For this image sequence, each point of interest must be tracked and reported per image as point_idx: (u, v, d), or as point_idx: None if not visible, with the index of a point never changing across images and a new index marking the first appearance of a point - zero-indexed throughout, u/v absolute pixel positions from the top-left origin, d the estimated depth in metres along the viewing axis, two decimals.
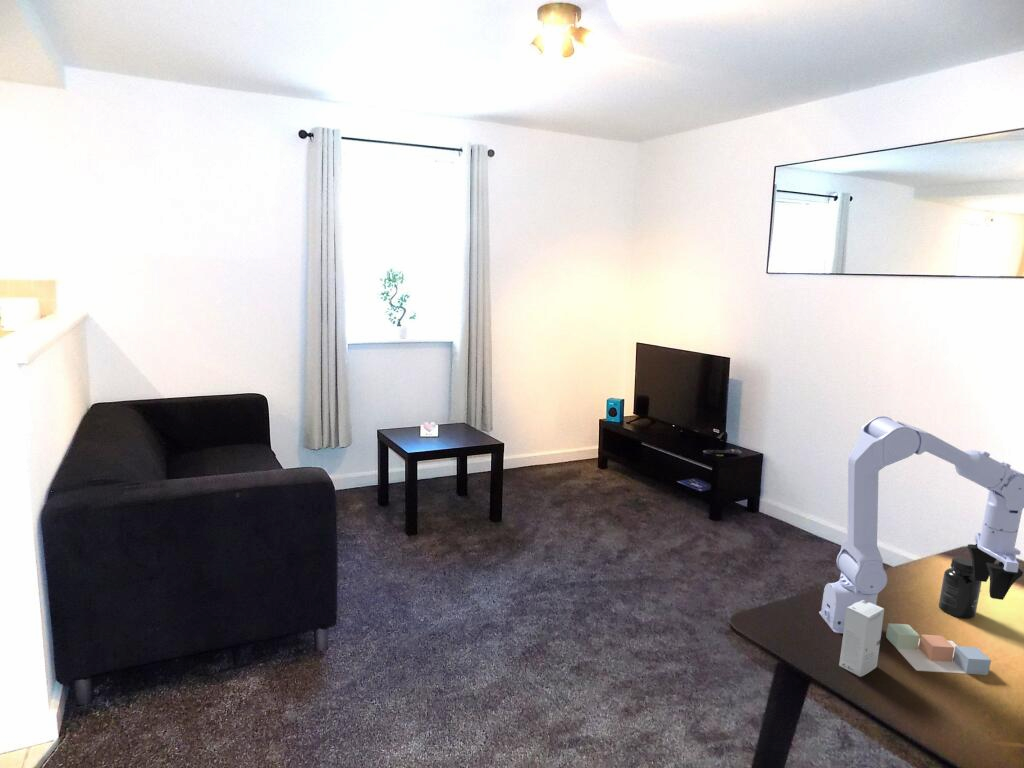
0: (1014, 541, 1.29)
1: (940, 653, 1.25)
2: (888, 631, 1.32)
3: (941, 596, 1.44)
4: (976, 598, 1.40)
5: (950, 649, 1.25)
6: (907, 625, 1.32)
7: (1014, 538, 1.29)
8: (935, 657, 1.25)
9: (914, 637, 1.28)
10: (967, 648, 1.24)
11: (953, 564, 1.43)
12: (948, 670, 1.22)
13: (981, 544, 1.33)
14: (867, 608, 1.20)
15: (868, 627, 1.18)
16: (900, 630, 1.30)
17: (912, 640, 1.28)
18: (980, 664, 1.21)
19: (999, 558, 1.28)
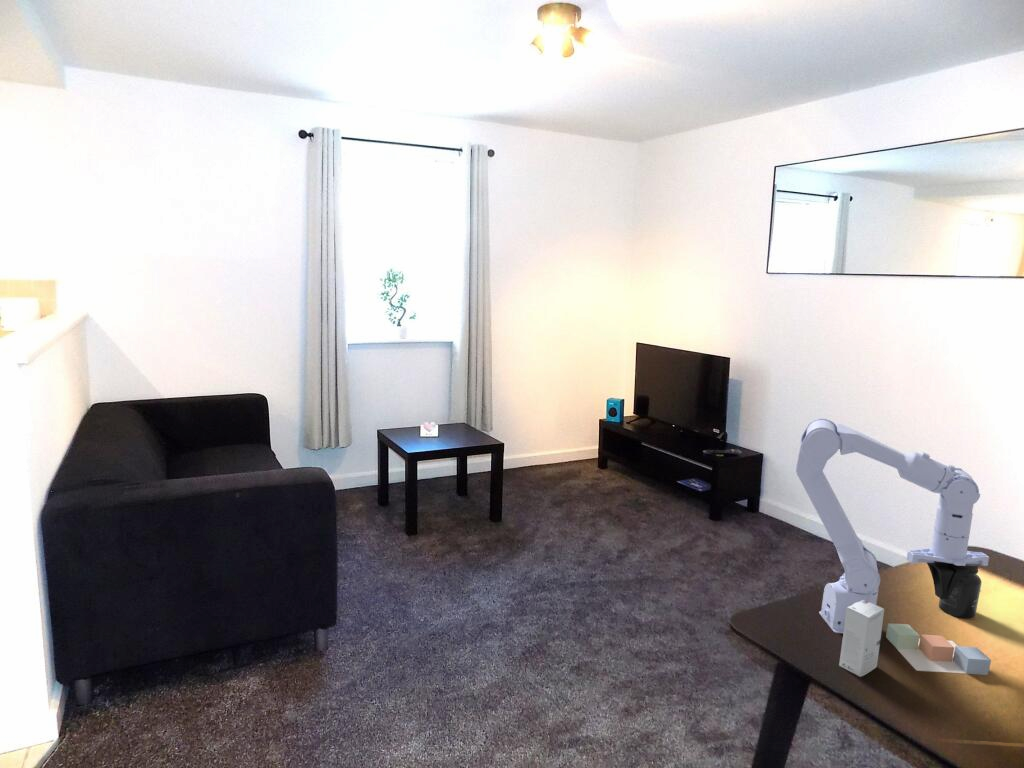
0: (945, 545, 1.26)
1: (940, 653, 1.25)
2: (888, 631, 1.32)
3: None
4: (976, 598, 1.40)
5: (950, 649, 1.25)
6: (907, 625, 1.32)
7: (944, 542, 1.26)
8: (935, 657, 1.25)
9: (914, 637, 1.28)
10: (967, 648, 1.24)
11: None
12: (948, 670, 1.22)
13: None
14: (867, 608, 1.20)
15: (868, 627, 1.18)
16: (900, 630, 1.30)
17: (912, 640, 1.28)
18: (980, 664, 1.21)
19: None
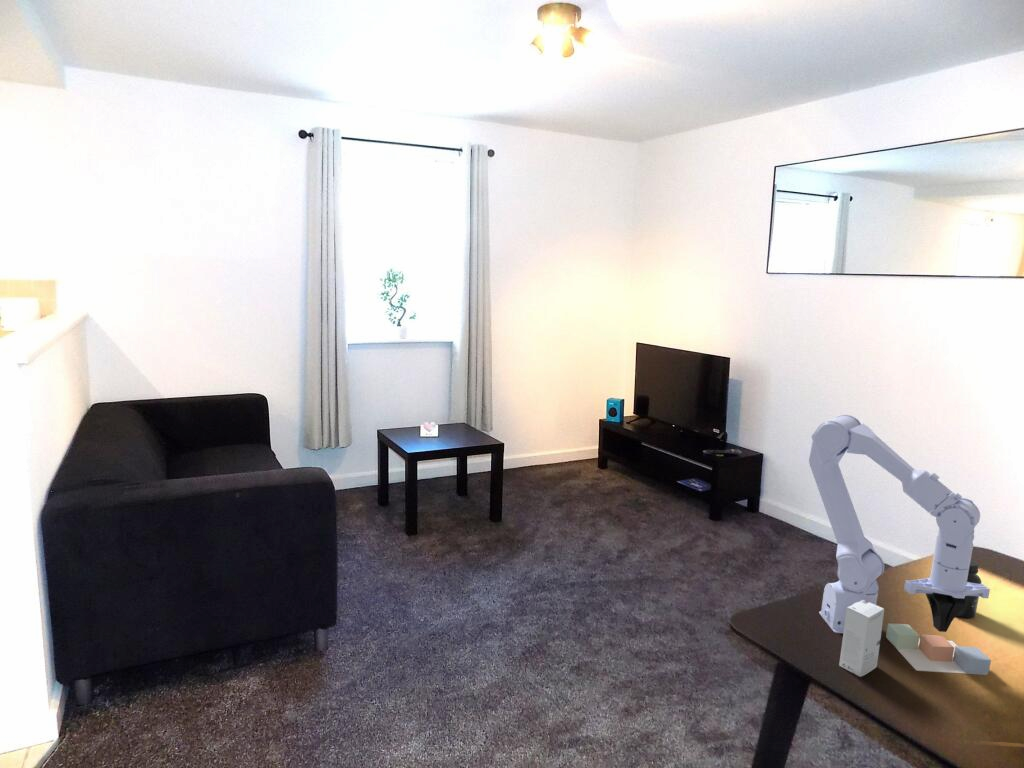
0: (944, 577, 1.22)
1: (940, 653, 1.25)
2: (888, 631, 1.32)
3: None
4: (976, 598, 1.40)
5: (950, 649, 1.25)
6: (907, 625, 1.32)
7: (943, 573, 1.22)
8: (935, 657, 1.25)
9: (914, 637, 1.28)
10: (967, 648, 1.24)
11: None
12: (948, 670, 1.22)
13: None
14: (867, 608, 1.20)
15: (868, 627, 1.18)
16: (900, 630, 1.30)
17: (912, 640, 1.28)
18: (980, 664, 1.21)
19: None
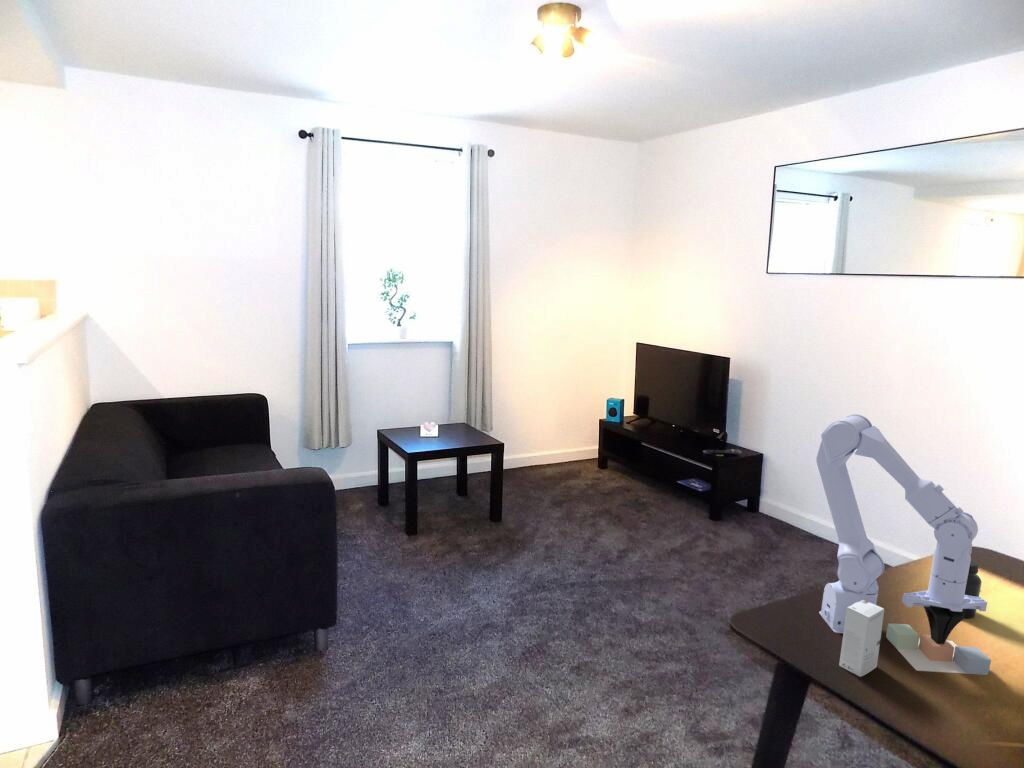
0: (942, 590, 1.23)
1: (940, 653, 1.25)
2: (888, 631, 1.32)
3: None
4: None
5: (950, 649, 1.25)
6: (907, 625, 1.32)
7: (941, 586, 1.23)
8: (935, 657, 1.25)
9: (914, 637, 1.28)
10: (967, 648, 1.24)
11: None
12: (948, 670, 1.22)
13: None
14: (867, 608, 1.20)
15: (868, 627, 1.18)
16: (900, 630, 1.30)
17: (912, 640, 1.28)
18: (980, 664, 1.21)
19: None
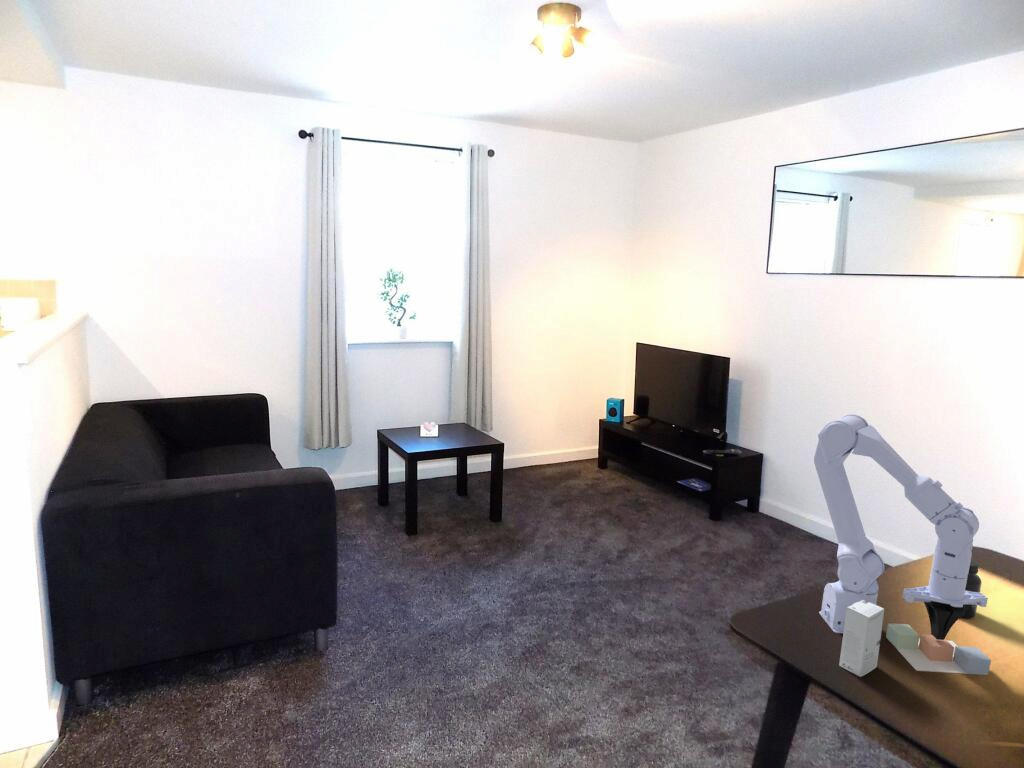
0: (942, 585, 1.22)
1: (940, 653, 1.25)
2: (888, 631, 1.32)
3: None
4: None
5: (950, 649, 1.25)
6: (907, 625, 1.32)
7: (941, 581, 1.22)
8: (935, 657, 1.25)
9: (914, 637, 1.28)
10: (967, 648, 1.24)
11: None
12: (948, 670, 1.22)
13: None
14: (867, 608, 1.20)
15: (868, 627, 1.18)
16: (900, 630, 1.30)
17: (912, 640, 1.28)
18: (980, 664, 1.21)
19: None
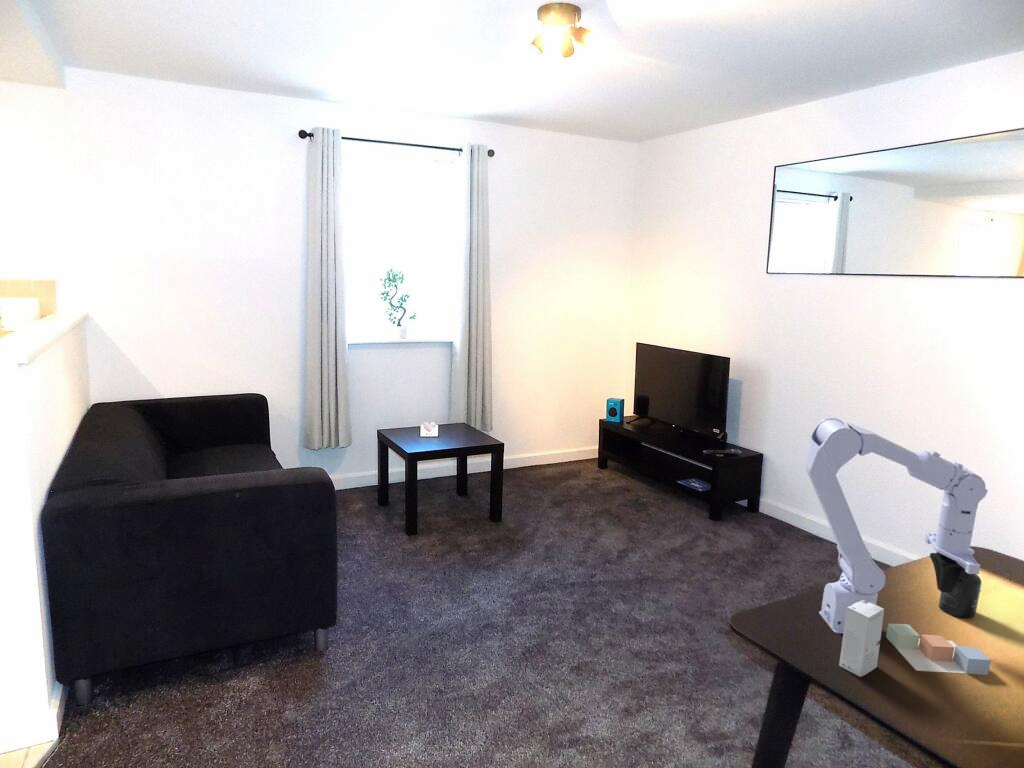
0: (970, 541, 1.29)
1: (940, 653, 1.25)
2: (888, 631, 1.32)
3: (941, 596, 1.44)
4: (976, 598, 1.40)
5: (950, 649, 1.25)
6: (907, 625, 1.32)
7: (970, 538, 1.28)
8: (935, 657, 1.25)
9: (914, 637, 1.28)
10: (967, 648, 1.24)
11: None
12: (948, 670, 1.22)
13: (938, 546, 1.31)
14: (867, 608, 1.20)
15: (868, 627, 1.18)
16: (900, 630, 1.30)
17: (912, 640, 1.28)
18: (980, 664, 1.21)
19: (960, 560, 1.26)
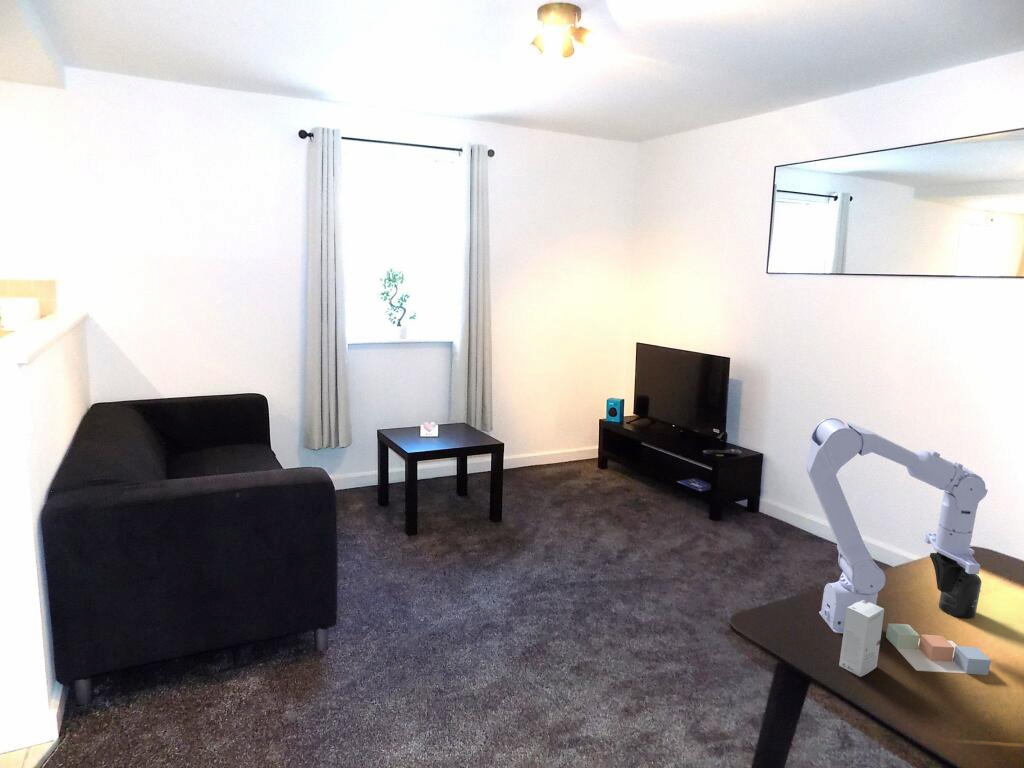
0: (970, 541, 1.29)
1: (940, 653, 1.25)
2: (888, 631, 1.32)
3: (941, 596, 1.44)
4: (976, 598, 1.40)
5: (950, 649, 1.25)
6: (907, 625, 1.32)
7: (970, 538, 1.28)
8: (935, 657, 1.25)
9: (914, 637, 1.28)
10: (967, 648, 1.24)
11: None
12: (948, 670, 1.22)
13: (938, 546, 1.31)
14: (867, 608, 1.20)
15: (868, 627, 1.18)
16: (900, 630, 1.30)
17: (912, 640, 1.28)
18: (980, 664, 1.21)
19: (960, 560, 1.26)
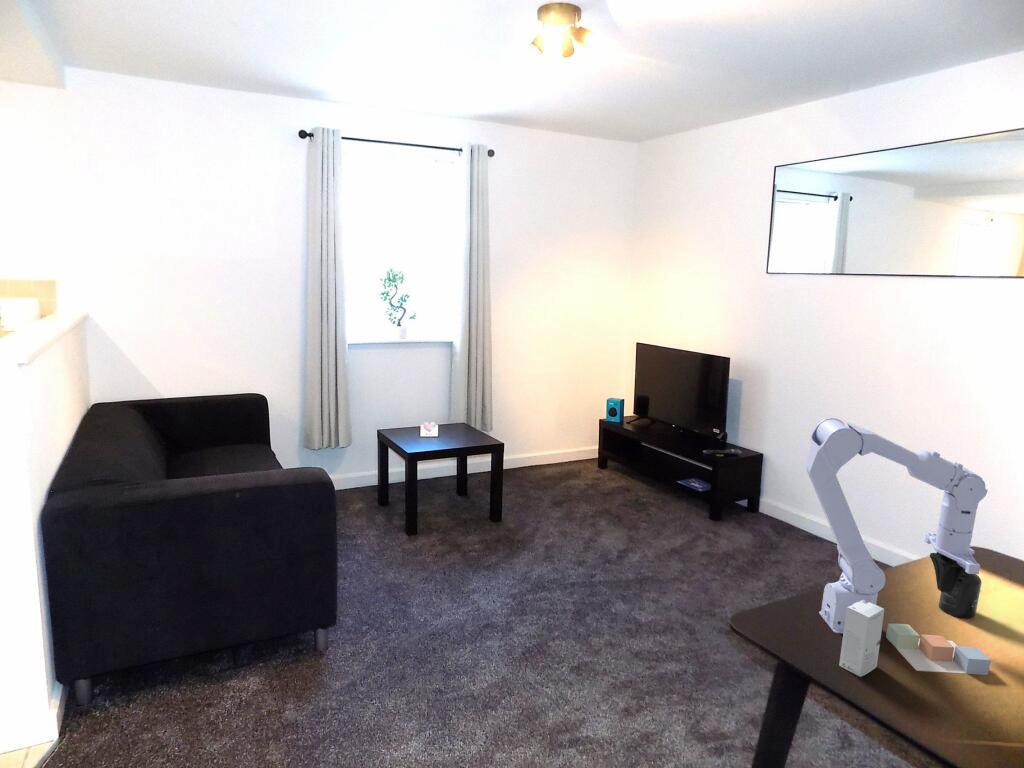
0: (970, 541, 1.29)
1: (940, 653, 1.25)
2: (888, 631, 1.32)
3: (941, 596, 1.44)
4: (976, 598, 1.40)
5: (950, 649, 1.25)
6: (907, 625, 1.32)
7: (970, 538, 1.28)
8: (935, 657, 1.25)
9: (914, 637, 1.28)
10: (967, 648, 1.24)
11: None
12: (948, 670, 1.22)
13: (938, 546, 1.31)
14: (867, 608, 1.20)
15: (868, 627, 1.18)
16: (900, 630, 1.30)
17: (912, 640, 1.28)
18: (980, 664, 1.21)
19: (960, 560, 1.26)
